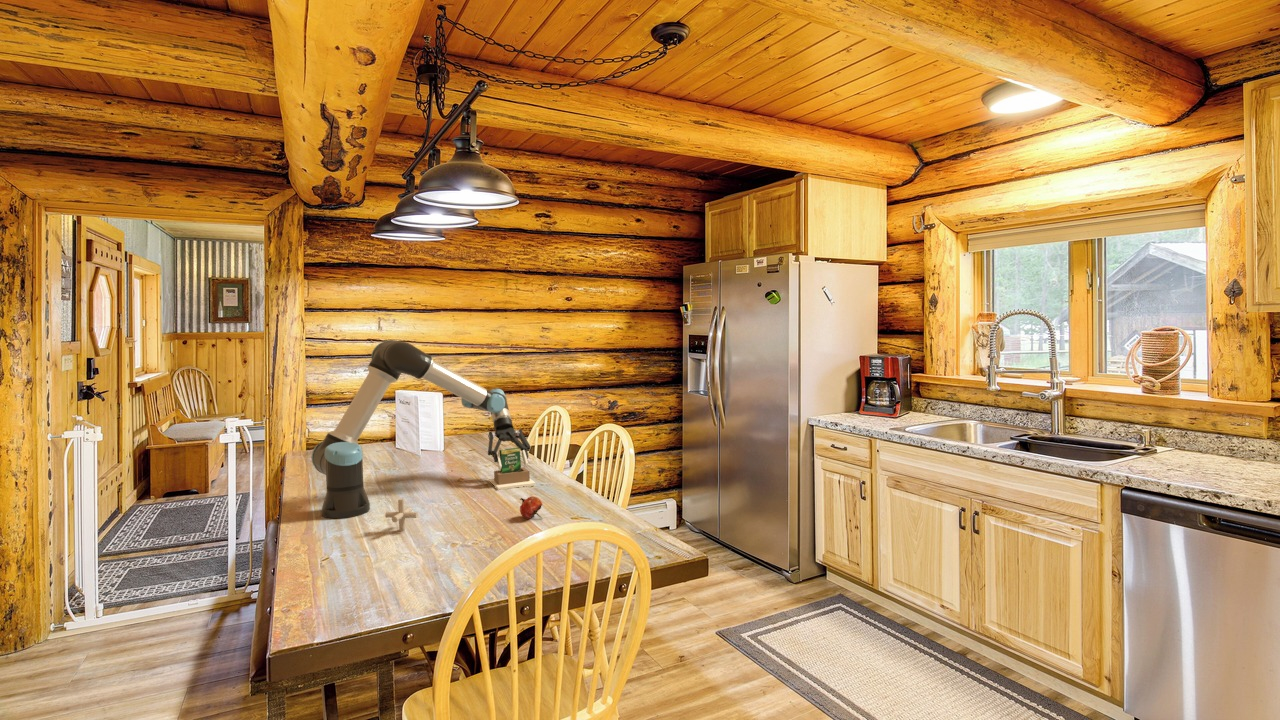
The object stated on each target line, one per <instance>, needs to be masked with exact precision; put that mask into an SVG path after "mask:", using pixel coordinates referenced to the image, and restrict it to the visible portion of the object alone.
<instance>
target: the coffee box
mask: <svg viewBox="0 0 1280 720" xmlns="http://www.w3.org/2000/svg"><path fill="white" fill-rule="evenodd" d="M498 450H499V451H498V452H499V456H500V460H501V465H502V467H501V470H500V472H501V474H503V473H512V472H520V471H521V468H522V463H521V461H522V460H521V450H520V448H518V447H517V446H516V447H512V448H502V449H498Z"/></svg>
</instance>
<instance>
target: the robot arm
mask: <svg viewBox="0 0 1280 720" xmlns="http://www.w3.org/2000/svg"><path fill="white" fill-rule="evenodd" d="M367 369H368V373H367V375H366V377H365V379H364V381H362V384H361V385H360V387H359V389H358V391H357V392H356V394H355V396H354V397H353V398H352V401H351V402H350V404H349V405H348V407H347V409H346V411H345V412H344V414H343V416H342V417H341V419H340V420H339V422H338V424H337V426H336V427H335V429H334V430H333V431H328V432H327V433H326V435H325V437H324V439H323V440H322V441H321V442H319V443H317V444H316V445H315V447H314V448H313V450H312V452H311V462H312V465H313V466H314V468H315V469H316V471H318V472H319V473H320V474H324V475H325V483H326V486H325V487H326V493H325V496H324V500H323V503H322V506H321V516H322V517H324V518H326V519H327V518H328V519H345V518H352V517H357V516H361V515H364V514H365V513H367V512H369V511H370V510H371V503H370V500H369V498H368V496H367V493H366V490H365V488H364V487H365V486H364V464H363V463H364V460H363V457H364V453H363V450H362V446H361V445H360V444H359V442H358V440H359V438H360V437H361V435H362V434H363V433H364V431H365V428H366V427H367V425H368V423H369V422H370V421H371V420H370V419H371V418H372V416H373V414H374V413H375V411H376V409H377V408H378V406H379V404H380V403H381V400H382V399H383V398H384V396H385V394H386V392H387V390H388V388H389V387H390V386H391V384H392V383H396V382H398V380H399V378H400V376H401V375H402V374H404V375H406V376H407V375H408V376H411V377H413V378H415V379H417V380H421V379H423V380H426V381H427V382H430V383H432V384H433V385H435V386H437V387H439V388H440V389H443V390H445V391H447V392H449V393H451V394H454V396H456V397H458V398H461V405H462V406H463V407H464V408H466V409H467V408H468V409H473V410H478V411H484V412H488V413H490V415H491V419H492V423H493V428H494V432H492V431H489V432H488V435H487V437H488V449H487V455H488V456H491V457H492V458H493V461H494V463H496V464H497V469H498V470H501V467H502V465H501V460H500V453H499V451H498V450H499V448H500V446H501V443H502V442H503V443H504V442H511V443H513V444H514V445H515V446H516V448H517V447H518V448H520V452H521V456H522V461H523V464H524V468H527V467H528V465H529V461H528V459H529V453H528V452H530V450H531V448H532V446H531V445H530V443H529V441H528V440H527V438H526V436H525V434H523V429H519V430H515V428H514V424H513V420H512V416H511V412H510V408H509V404H508V400H507V397H506V394H505V392H504V391H503V390H502V389H500V388H492V389H490V390H488V389H487V388H485V387H483V386H481V385H479V384H477V383H476V382H474V381H472V380H470V379H469V378H466V377H464V376H463V375H461V374H459V373H457V372H455V371H454V370H452V369H450V368H447V367H446V366H444V365H442V364H440V363H438V362H436V361H435V360H434V359H433V356H431V355H430V354H428V353H426V352H424V351H423V350H421V349H419V348H418V347H416V345H415V346H414V345H413V344H411V343H409V342H407V341H397V340H385V341H382V342H380V343H379V344H377V345H376V346H375V347H374V348H373V350H372V352H371V361H370V362H369V364H368V365H367ZM495 437H496V438H498V440H497V442H496V444H495V447H494V449H493V441H494V439H495ZM517 437H518V438H519V439H518V438H517Z"/></svg>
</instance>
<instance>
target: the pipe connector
mask: <svg viewBox="0 0 1280 720" xmlns="http://www.w3.org/2000/svg"><path fill="white" fill-rule="evenodd" d="M397 504H398V507H397V510H398V511H386V512H385V513H384V516H385V518H388V519H389V518H390V519H391V522H392V523H397V522H398V526H399V527H398V529H399V532H405V531H406V519H418V518H419V512H416V511H412V510H413V509H412V508H411V507H410V506H408V507H405V498H403V497H402V498H398V499H397Z"/></svg>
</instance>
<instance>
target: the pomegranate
mask: <svg viewBox="0 0 1280 720" xmlns="http://www.w3.org/2000/svg"><path fill="white" fill-rule="evenodd" d="M519 501H521V505H520V507H519V512H520V515H521V516H522V517H523V518H524V519H526V520H529V519H532V517H534V516H536V515H537V516H538V517H539V518H541V519H542V520H543V518H542V517H541V515H539V514H538V512H539V511H540V510H541V508H542V507H543V505H544V503H543V502H542V500H541V499H540V498H539V497H536V496H529V497H527V498H523V497H520V499H519Z"/></svg>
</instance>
